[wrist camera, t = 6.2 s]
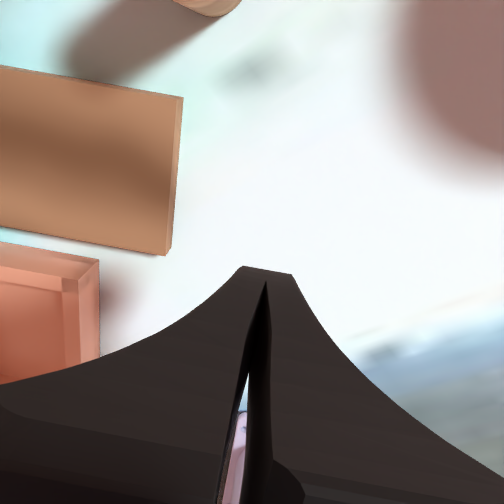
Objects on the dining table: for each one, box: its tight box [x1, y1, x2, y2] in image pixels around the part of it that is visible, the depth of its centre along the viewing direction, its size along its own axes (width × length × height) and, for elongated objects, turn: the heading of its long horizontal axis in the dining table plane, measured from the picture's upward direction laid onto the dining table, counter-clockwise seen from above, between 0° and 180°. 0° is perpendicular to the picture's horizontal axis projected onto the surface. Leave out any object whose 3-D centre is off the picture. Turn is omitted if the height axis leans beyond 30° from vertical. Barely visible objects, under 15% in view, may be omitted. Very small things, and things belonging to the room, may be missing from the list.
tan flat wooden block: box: [0, 65, 184, 256], centre depth 19 cm, size 7×9×2 cm
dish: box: [0, 242, 100, 385], centre depth 22 cm, size 9×7×2 cm
